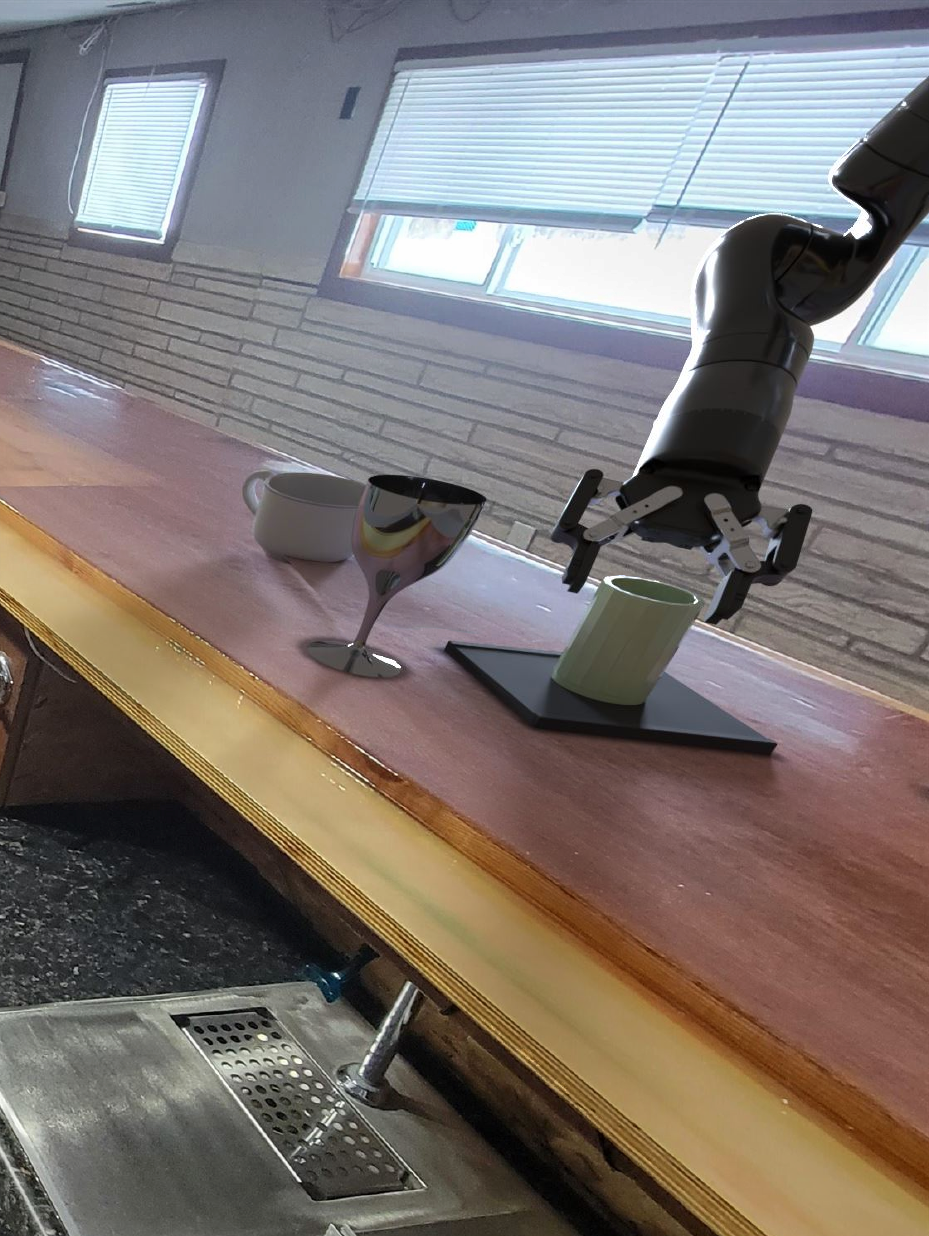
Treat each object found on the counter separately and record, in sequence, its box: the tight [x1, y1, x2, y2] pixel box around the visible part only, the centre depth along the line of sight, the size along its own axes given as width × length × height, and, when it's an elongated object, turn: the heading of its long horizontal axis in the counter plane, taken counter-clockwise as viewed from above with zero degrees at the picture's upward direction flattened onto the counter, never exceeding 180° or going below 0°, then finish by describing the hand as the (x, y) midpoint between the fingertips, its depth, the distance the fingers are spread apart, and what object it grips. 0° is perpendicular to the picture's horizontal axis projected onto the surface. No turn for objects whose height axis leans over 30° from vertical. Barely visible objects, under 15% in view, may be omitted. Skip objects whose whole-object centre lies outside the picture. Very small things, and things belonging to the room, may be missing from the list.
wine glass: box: [306, 474, 488, 678], centre depth 83 cm, size 8×8×15 cm
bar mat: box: [443, 640, 778, 756], centre depth 82 cm, size 16×14×1 cm
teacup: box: [241, 469, 366, 565], centre depth 108 cm, size 14×11×8 cm
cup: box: [552, 575, 707, 705], centre depth 79 cm, size 6×6×8 cm
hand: (643, 603), depth 80 cm, fingers open, 8 cm apart
